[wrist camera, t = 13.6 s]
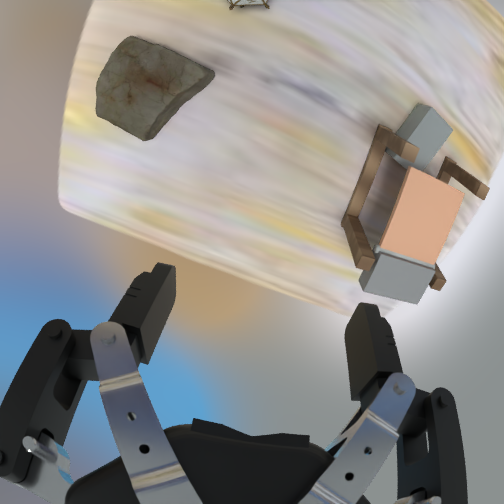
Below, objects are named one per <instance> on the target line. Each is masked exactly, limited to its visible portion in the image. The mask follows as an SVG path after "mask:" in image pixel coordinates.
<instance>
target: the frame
mask: <svg viewBox="0 0 504 504" xmlns="http://www.w3.org/2000/svg"><path fill="white" fill-rule="evenodd" d="M386 146H387V147H388V148H389V149H391V150H392V151H393V152H395V153H396V154H397V155H398V156H400V157H401V158H404V159H406V160H408V161H410V162H413V163H414V162H415V159H416V157H417V154H418V152H419V149H420V148H418V147H417V146H415V145H413V144H412V143H410V142H408V141H407V140H405V139H403V138H402V137H400V136H398V135H396V134H394V133H393V132H392V130H391V129H389V128H387V127H384V126H382V125H380V124H379V125H378V128H377V131H376V134H375V137H374V140H373V143H372V145H371V148H370V151H369V154H368V156H367V159H366V162H365V164H364V167H363V170H362V172H361V175H360V177H359V180H358V183H357V185H356V188H355V190H354V193H353V195H352V198H351V200H350V203H349V205H348V207H347V210H346V212H345V215H344V217H343V219H342V222H341V227H344V230H345V233H346V236H347V239H348V243H349V246H350V249H351V253H352V256H353V259H354V263H355V266H356V268H359V269H362V270H366V271H369V270H370V268H371V267H372V265H373V263H374V261H375V257H374V255H373V252H372V250H371V247H370V245H369V242H368V240H367V237H366V235H365V233H364V230H363V228H362V226H361V223H360V221H359V219H358V216H359V213H360V211H361V209H362V207H363V204H364V202H365V199H366V197H367V195H368V192H369V190H370V187H371V185H372V183H373V180H374V178H375V175H376V173H377V170H378V167H379V165H380V162H381V160H382V157H383V154H384V152H385V149H386ZM456 164H457V163H456V162H454V161H453V160H451V159H449V158H447V157H445V160H444V162H443V165H442V167H441V170H440V172H439V174H438V177H437V179H438V180H440V181H442V182H444V183H446V184H448V182H449V180H450V178H451V176H452V177H453V178H454V179H456V180H457V181H458V182H460V183H461V184H462V185H463V186H465V187H466V188H467V189H468V190H470V191H471V192H472V193H473V194H474V195H476V196H477V197H479V198H481V199H482V200H485V198H486V196H487V193H488V191H489V187H487V186H486V185H485V184H483V183H482V182H481V181H479V180H478V179H476V178H475V177H474V176H472V175H471V174H469V173H468V172H466V171H465V170H464V169H462V168H461V167H459V166H458V165H456ZM434 270H435V271H436V272H435V274H434V275H433V277H432V279H431V281H430V283H429V285H430V287H431V288H432V289H435V290H438V291H440V290H441V288H442V287H443V286H444V284H445V283H446V279H445V277H444V276H443V274H442V272H441V271H440V269H439V267H438V266H437V264H436V262H435V269H434Z"/></svg>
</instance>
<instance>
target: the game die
mask: <svg viewBox="0 0 504 504" xmlns="http://www.w3.org/2000/svg"><path fill="white" fill-rule="evenodd" d="M227 1H228V2H229V3H230V4H231V6H230V7H229V8H230V10H232V9H233V8H234V6H240V7H241V8H242V7H244V5H265V7H266V8H268V9H269V6H268V5H267V4H266V3H267V1H268V0H227Z"/></svg>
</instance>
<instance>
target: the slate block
mask: <svg viewBox="0 0 504 504" xmlns="http://www.w3.org/2000/svg"><path fill="white" fill-rule="evenodd" d="M452 131H453V129H452V128H451V127H450V126H449V125H448V124H447V122H446V121H445V120H444V119H443V118H442V117H441V116H440V115H439V114H438V113H437V112H436V111H435V110H434V109H433V108H432V107H430V106H426V105H422V104H417V106H416V107H415V108H414V110H413V111H412V113H411V114H410V115H409V117H408V118H407V119H406V121H405V122H404V123H403V125H402V126H401V128H400V129H399V130H398V132H397V133H396V135H398V136H400V137H402V138H403V139H405V140H407V141H408V142H410V143H412V144H413V145H415V146H417V147H418V148H420V149H419V152H418V154H417V157H416V159H415V162H414V163H413V162H410V161H408V160H406V159H404V158H401V157H400V156H398V155H397V154H396V153H395V152H393V151H392V150H391V149H389V148H388V147H387V146H386V149H385V152H386V153H388V154H389V155H390V156H391V157H392V158H393V159H395V160H396V161H397V162H398V163H399V164H400V165H401V166H403V167H404V168H405V169H406V170H407V169H408V166H411V167H413V168H415V169H417V170H420V171H423V170H424V169H425V167H426V166H427V165H428V164H429V162H430V161H431V160H432V158H433V157H434V156H435V154H436V153H437V152H438V150H439V149H440V148H441V146H442V145H443V144H444V142H445V141H446V140H447V138H448V137H449V135H450V134H451V133H452Z"/></svg>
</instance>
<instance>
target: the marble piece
mask: <svg viewBox="0 0 504 504" xmlns="http://www.w3.org/2000/svg"><path fill="white" fill-rule="evenodd" d="M213 77H214V71H213V70H210V69H207V68H205V67H202V66H201V65H199V64H197V63H195V62H193V61H191V60H189V59H188V58H185V57H183V56H181V55H179V54H177V53H175V52H173V51H172V50H168V49H167V48H164V47H162V46H160V45H159V44H156V45H154V44H151V43H149V42H147V41H144V40H141V39H139V38H136V37H134V36H129V37H127V38H126V39H124V40H123V41H122V42H121V43H120V44H119V45H118V46H117V48H116V49H115V51H114V52H112V54H111V56H110V58H109V60H108V62H107V63H106V65H105V67H104V69H103V70H102V72H101V74H100V77H99V78H98V81H97V85H96V96H97V99H96V114H97V116H98V117H100V118H103V119H105V120H107V121H109V122H110V123H112V124H113V125H115V126H118V127H120V128H122V129H123V130H125V131H126V132H128V133H130V134H132V135H134V136H136V137H138V138H139V139H141V140H142V141H147V140H150V139H153V138H154V137H155V135H156V134H157V133H158V132H159V131H160V129H161V128H162V127H163V126H164V125H165V124H166V123H167V122H168V121H169V119H170V118H171V117H172V116H173V115H174V114H176V112H177V111H178V110H179V108H180V107H181V106H182V105H183V104H184V103H185V102H187V101H188V100H190V99H191V98H192V97H193V96H195V95H196V94H197V93H198V92H200V91H201V90H203V89H204V88H205V87H206V86H207V85H208V84H209V83H210V82H211V80H212V79H213Z"/></svg>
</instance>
